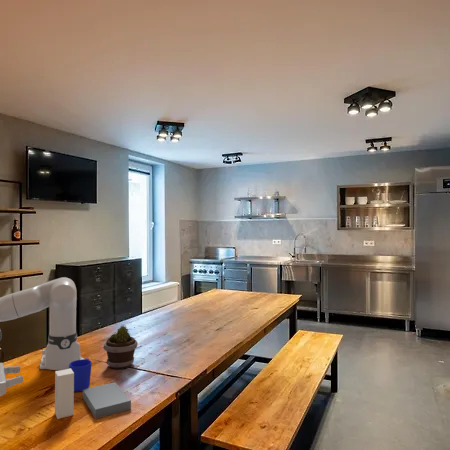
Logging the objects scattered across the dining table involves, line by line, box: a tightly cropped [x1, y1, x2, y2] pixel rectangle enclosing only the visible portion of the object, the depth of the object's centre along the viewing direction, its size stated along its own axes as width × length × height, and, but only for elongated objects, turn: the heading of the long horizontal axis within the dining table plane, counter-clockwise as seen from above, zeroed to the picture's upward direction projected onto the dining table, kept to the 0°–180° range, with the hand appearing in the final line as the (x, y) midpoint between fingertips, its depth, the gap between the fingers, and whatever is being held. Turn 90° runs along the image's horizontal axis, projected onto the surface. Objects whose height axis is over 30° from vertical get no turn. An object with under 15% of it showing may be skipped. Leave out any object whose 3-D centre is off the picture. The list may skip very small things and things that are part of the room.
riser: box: [82, 381, 132, 419], centre depth 134 cm, size 18×12×3 cm, turn 34°
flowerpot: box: [102, 324, 138, 370], centre depth 171 cm, size 14×15×20 cm
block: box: [54, 368, 75, 420], centre depth 127 cm, size 5×5×14 cm
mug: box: [68, 358, 93, 392], centre depth 148 cm, size 8×12×10 cm
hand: (21, 373), depth 119 cm, fingers open, 8 cm apart
